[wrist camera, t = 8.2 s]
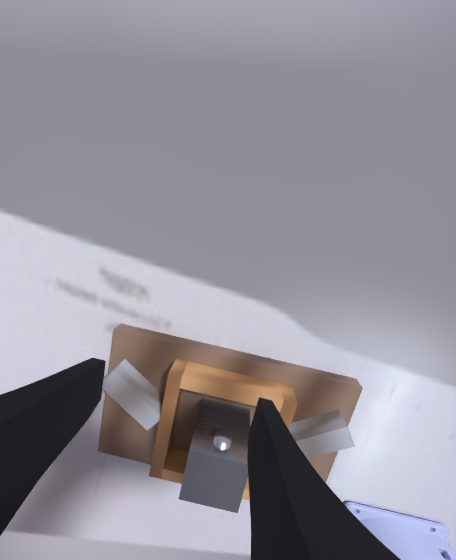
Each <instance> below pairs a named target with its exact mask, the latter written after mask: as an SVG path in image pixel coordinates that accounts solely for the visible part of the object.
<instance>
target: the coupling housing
mask: <svg viewBox="0 0 456 560" xmlns="http://www.w3.org/2000/svg"><path fill="white" fill-rule="evenodd" d="M102 389H103V390H104V391H105V392H106V394H105V402H104V409H103V417H102V425H101V433H100V440H99V448H98V451H99V452H103V453H107V454H111V455H115V456H119V457H123V458H128V459H132V460H136V461H140V462H144V463H148V464H151V468H150V473H149V476H151V477H156V478H160V479H164V480H168V481H172V482H176V483H180V484H182V482H183V477H184V473H185V468H186V464H187V459H188V454H189V450H190V446H191V442H192V437H193V433H194V429H195V425H196V421H197V417H198V413H199V409H200V404H201V400H202V398H205V399H209V400H214V401H218V402H222V403H227V404H231V405H235V406H240V407H244V408H248V409H250V427H251V423H252V420H253V416H254V413H255V409H256V406H257V402H258V399H259V397H260V398H264V399H269V400H272V401H273V403H274V404H275V406H276V408H277V410H278V412H279V414H280V415H281V417H282V419H283V421H284V423H285V424H286V426H287V428H288V430H289V431H290V433H291V435H292V436H293V438H294V439H295V441H296V443H297V444H298V446H299V447H300V449H301V450H302V452H303V453H304V455H305V456H306V458H307V459H308V461H309V462H310V463H311V465H312V466H313V468H314V469H315V470H316V471H317V473H318V474H319V475H320V477H321V478H322V479H323V480H324V482H325V483H326V481H327V478H328V476H329V473H330V470H331V468H332V465H333V463H334V460H335V458H336V455H337V453H338V451H339V450H342V449H346V448H350V447H353V446H355V445H354V443H353V440H352V437H351V435H350V432H349V429H348V424H349V422H350V419H351V417H352V414H353V412H354V409H355V407H356V404H357V401H358V399H359V396H360V394H361V391H362V389H363V388H362V386H361V385H360V384H359V382H358V381H357V379H354V378H350V377H346V376H342V375H337V374H333V373H329V372H325V371H320V370H316V369H312V368H308V367H303V366H299V365H295V364H291V363H286V362H282V361H278V360H274V359H269V358H265V357H261V356H256V355H252V354H248V353H244V352H239V351H235V350H231V349H227V348H222V347H218V346H214V345H210V344H205V343H201V342H197V341H193V340H188V339H184V338H180V337H176V336H171V335H167V334H163V333H159V332H154V331H150V330H146V329H141V328H137V327H133V326H129V325H124V324H120V325H119V326H118V327H116V328H115V329H114V332H113V340H112V347H111V355H110V363H109V371H108V374H107V376H106V377H105V378H104V379H103V386H102ZM242 499H246V500H250V497H249V481H248V479H247V482H246V486H245V489H244V493H243V496H242Z"/></svg>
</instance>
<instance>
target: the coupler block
mask: <svg viewBox="0 0 456 560" xmlns="http://www.w3.org/2000/svg"><path fill="white" fill-rule="evenodd" d="M249 430H250V409H248V408H244V407H240V406H235V405H231V404H227V403H222V402H218V401H214V400H209V399H205V398H202V400H201V404H200V409H199V413H198V417H197V421H196V425H195V429H194V433H193V437H192V442H191V446H190V450H189V454H188V459H187V464H186V468H185V473H184V477H183V482H182V487H181V491H180V496H179V499H180V500H185V501H189V502H193V503H197V504H202V505H206V506H210V507H214V508H219V509H223V510H227V511H231V512H235V513H238V510H239V506H240V503H241V500H242V496H243V493H244V489H245V486H246V482H247V479H248V463H247V452H248V434H249Z"/></svg>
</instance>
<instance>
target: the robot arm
mask: <svg viewBox="0 0 456 560" xmlns="http://www.w3.org/2000/svg"><path fill="white" fill-rule="evenodd" d="M105 362H106V361H104V360H100V359H96V358H91V359H88V360H86V361H84V362H81V363H79V364H77V365H74V366H72V367H70V368H68V369H65V370H63V371H61V372H58V373H56V374H54V375H51V376H49V377H47V378H44V379H42V380H39V381H36V382H34V383H31V384H29V385H26V386H24V387H21V388H18V389H16V390H13V391H10V392H7V393H4V394H1V395H0V535H1V534H2V533H3V531H4V530H5V528H6V527H7V525H8V524H9V522H10V521H11V519H12V518H13V516H14V515H15V513H16V512H17V510H18V509H19V507H20V506H21V504H22V503H23V502H24V500H25V499H26V497H27V496H28V494H29V493H30V492H31V490H32V489H33V487H34V486H35V484H36V483H37V482H38V480H39V479H40V478H41V476H42V475H43V474H44V472H45V471H46V470H47V469H48V467H49V466H50V465H51V464H52V463H53V461H54V460H55V459H56V458H57V457H58V455H59V454H60V453H61V452H62V450H63V449H64V448H65V447H66V446H67V444H68V443H69V442H70V441H71V440H72V438H73V437H74V436H75V435H76V433H77V432H78V431H79V430H80V428H81V427H82V426H83V425H84V424H85V422H86V421H87V420H88V418H89V417H90V415H91V414H92V412H93V411H94V409H95V407H96V406H97V404H98V403H99V401H100V399H101V394H102V386H103V378H104V370H105ZM247 463H248V481H249V497H250V513H251V560H456V553H455V552H454V550H453V549H452V547H451V546H450V544H449V543H448V541H447V539H446V537H447V536H448V534H449V530H448V529H447V527H446V526H445V525H443V524H440V523H436V522H432V521H428V520H423V519H419V518H415V517H411V516H407V515H403V514H399V513H394V512H390V511H386V510H382V509H378V508H374V507H370V506H365V505H361V504H357V503H353V502H347V503H346V504H345V505H344V504H343V503H342V501H341V500H340V499H339V498H338V497H337V496H336V495H335V494H334V493H333V491H332V490H331V489H330V488H329V487H328V485H327V484H326V483H325V482H324V480H323V479H322V478H321V477H320V475H319V474H318V473H317V471H316V470H315V469H314V468H313V466H312V465H311V463H310V462H309V461H308V459H307V458H306V456H305V455H304V453H303V452H302V450H301V449H300V447H299V446H298V444H297V443H296V441H295V439H294V438H293V436H292V435H291V433H290V431H289V430H288V428H287V426H286V424H285V423H284V421H283V419H282V417H281V415H280V414H279V412H278V410H277V408H276V406H275V404H274V403H273V401H272V400H269V399H264V398H260V397H259V399H258V402H257V406H256V409H255V413H254V416H253V420H252V423H251V427H250V430H249V434H248V452H247Z"/></svg>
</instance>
